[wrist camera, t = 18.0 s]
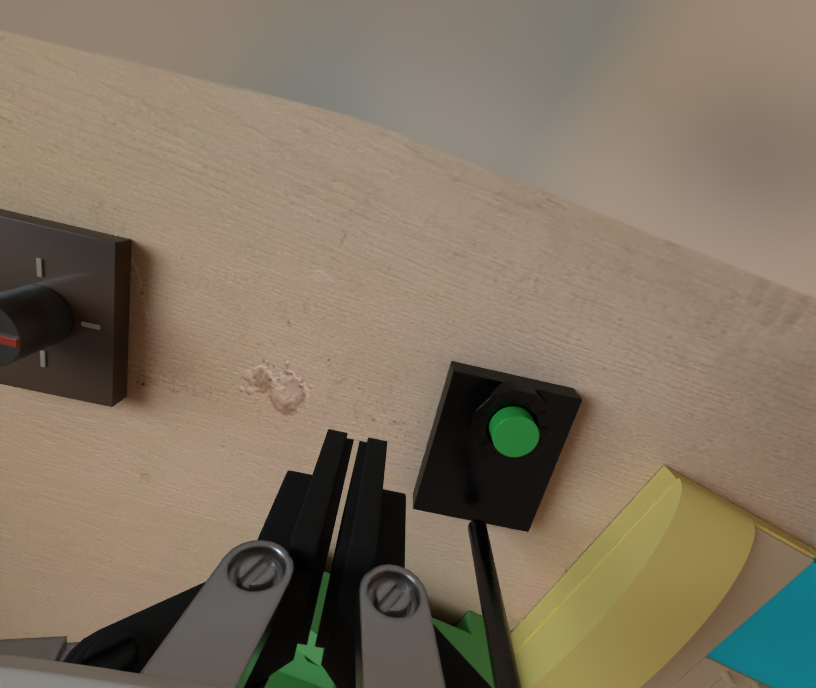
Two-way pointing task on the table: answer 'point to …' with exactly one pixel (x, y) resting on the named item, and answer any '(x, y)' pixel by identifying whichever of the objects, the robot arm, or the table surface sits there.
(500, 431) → the button
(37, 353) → the dimmer panel
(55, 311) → the dimmer knob
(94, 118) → the table surface
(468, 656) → the green cradle stand
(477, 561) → the lamp
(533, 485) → the lamp base
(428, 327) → the table surface
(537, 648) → the pop-up book
